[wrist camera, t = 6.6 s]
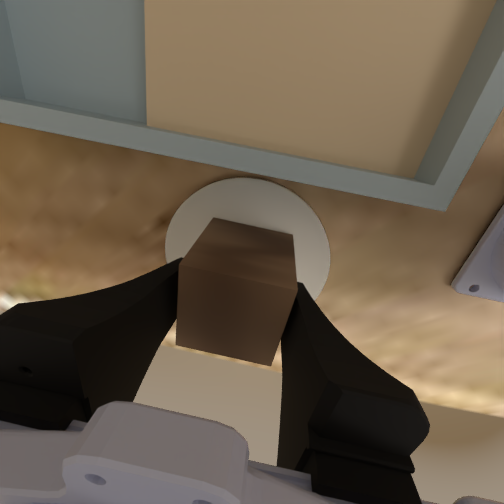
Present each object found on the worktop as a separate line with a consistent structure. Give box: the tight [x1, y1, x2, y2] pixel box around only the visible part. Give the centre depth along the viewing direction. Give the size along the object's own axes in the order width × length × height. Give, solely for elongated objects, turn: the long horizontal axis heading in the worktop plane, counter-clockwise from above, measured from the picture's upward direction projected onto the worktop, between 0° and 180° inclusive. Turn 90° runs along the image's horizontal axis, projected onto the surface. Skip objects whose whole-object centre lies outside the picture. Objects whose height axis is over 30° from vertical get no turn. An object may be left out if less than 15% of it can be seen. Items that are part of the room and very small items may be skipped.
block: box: [176, 217, 298, 366], centre depth 12 cm, size 4×4×5 cm
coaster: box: [165, 177, 330, 301], centre depth 15 cm, size 10×10×1 cm
